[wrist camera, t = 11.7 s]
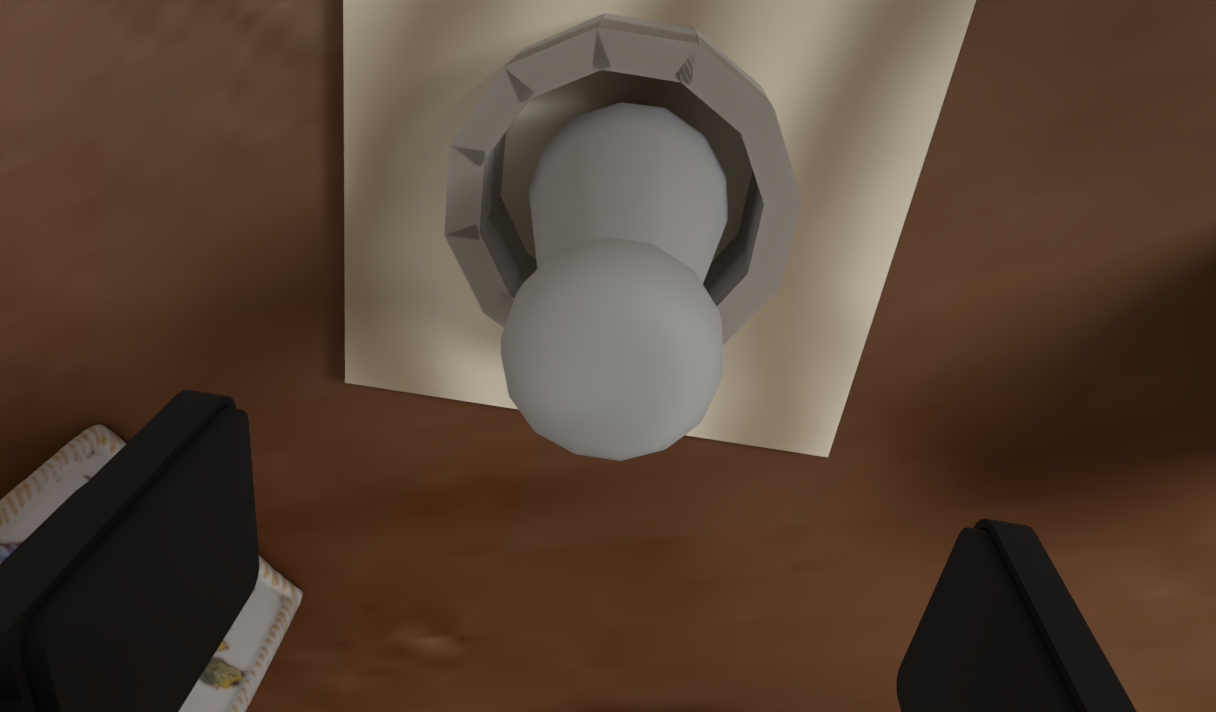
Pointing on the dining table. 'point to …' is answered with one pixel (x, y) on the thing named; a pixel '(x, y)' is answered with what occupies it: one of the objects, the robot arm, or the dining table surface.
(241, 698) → the decorative jar
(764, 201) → the ring holder
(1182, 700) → the dining table surface
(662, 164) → the salt shaker
